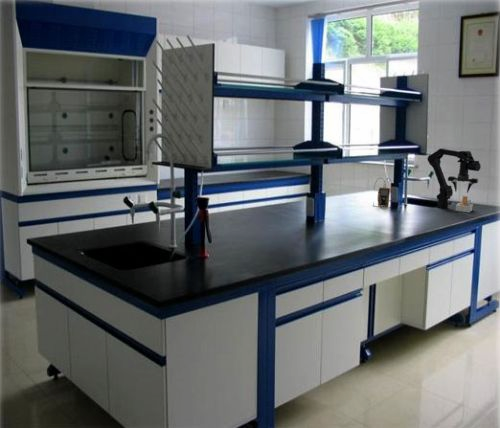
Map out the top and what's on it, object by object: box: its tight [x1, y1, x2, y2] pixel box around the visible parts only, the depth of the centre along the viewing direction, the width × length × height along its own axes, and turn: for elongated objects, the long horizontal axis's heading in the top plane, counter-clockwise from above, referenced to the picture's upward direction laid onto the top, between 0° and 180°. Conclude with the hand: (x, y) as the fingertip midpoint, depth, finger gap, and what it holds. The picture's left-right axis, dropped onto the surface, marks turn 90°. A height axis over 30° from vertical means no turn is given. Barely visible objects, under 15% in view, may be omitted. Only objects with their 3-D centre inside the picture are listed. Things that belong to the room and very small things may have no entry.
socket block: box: [455, 202, 473, 213], centre depth 385 cm, size 9×10×4 cm
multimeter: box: [372, 177, 393, 208], centre depth 388 cm, size 15×10×20 cm
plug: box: [458, 195, 471, 206], centre depth 384 cm, size 6×6×9 cm
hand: (461, 192), depth 380 cm, fingers open, 7 cm apart
